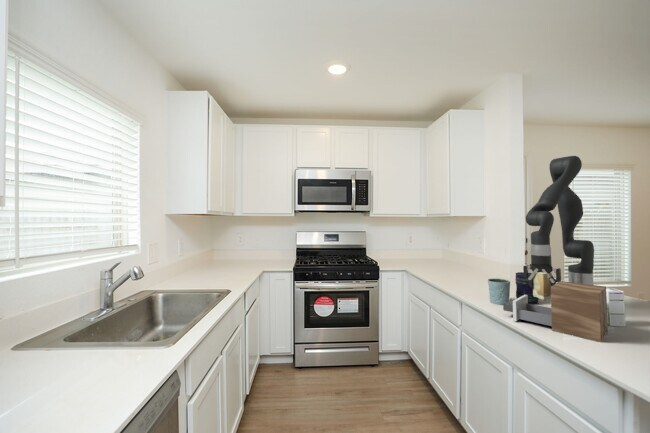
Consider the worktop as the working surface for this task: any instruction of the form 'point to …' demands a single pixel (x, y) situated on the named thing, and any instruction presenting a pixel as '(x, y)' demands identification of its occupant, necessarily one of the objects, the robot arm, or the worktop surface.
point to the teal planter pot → (499, 291)
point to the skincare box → (542, 286)
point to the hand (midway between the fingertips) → (542, 289)
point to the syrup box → (615, 307)
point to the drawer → (528, 311)
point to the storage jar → (525, 288)
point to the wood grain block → (579, 310)
